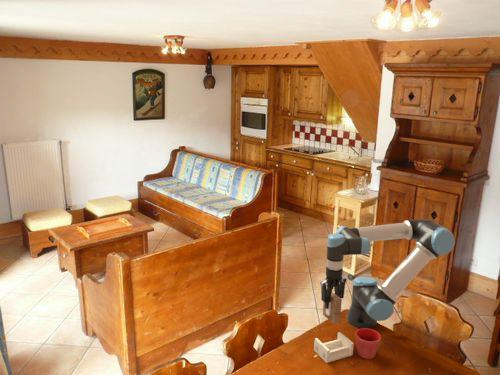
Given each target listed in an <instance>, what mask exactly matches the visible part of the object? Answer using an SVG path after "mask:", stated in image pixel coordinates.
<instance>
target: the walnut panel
mask: <svg viewBox="0 0 500 375" xmlns="http://www.w3.org/2000/svg"><path fill="white" fill-rule="evenodd" d="M342 300H343V298H340V297H339V296H337V295H336V294H335V292H333V291H332V293H331V298H330V302H331V312H330V316H329V315H327V314H326V308H325V302H323V301H322V302H323V306H322V307H323V308H322V315H323V316H324V317H325V318H326V319H328V320H329V322H331V323H332V324H333V325H336V324H338V323H341V318H342V316H341V315H342V303H343V302H342Z"/></svg>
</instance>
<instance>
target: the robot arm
mask: <svg viewBox="0 0 500 375" xmlns="http://www.w3.org/2000/svg"><path fill="white" fill-rule="evenodd" d="M400 239H406V240H408V241H411V240H415V247H414V248H413V249H412V250H411V251H410V252H409V254H408V255H407V256H406V257H405V258H404V259H403V260H402V262H400V263H399V265H398V266H397V267H396V268H395V269H394V270H393V271H392V272H391V273H390V274H389V276H388V277H387V278H386V279H385V280H384V282H382V283H378V280H377V279H376V278H373V277H368V276H358V277H355V278H354V279H353V283H352V290H351V291H352V293H351V305H350V306H349V309H348V311H347V313H346V320H347V322H348V323H349V324H351V325H352V326H354V327H356V328H359V329H362V328H368V329H372V328H374V327H376V326H377V323H378V322H381V321H382V322H383V321H386V320H388V319H389V318H391V317H392V316H393V315H394V310H395V308H394V305H395V304H396V303H397V297H398V296H400V294H401V293H402V292H403V290H404V289H405V288H406V287H407V286H408V285H409V284H410V283H411V282H412V281H413V279H414V278H415V277H416V276H417V275H418V274H419V273H420V272H421V271H422V270H423V269H424V268H425V267H426V265H427V264H428V263H429V262H430V261H431V260H434V259H438V257H440V256H444V255H447V254H449V253H450V252H451V251H452V250H453V249H454V247H455V243H456V241H455V236H454V234H453V233H452V231H450V230H449V229H448V228H446V226H443V225H441V224H439V223H437V222H436V221H434V220H432V219H426V218H421V219H420V218H417V219H407V220H404V221H403V222H398V223H396V222H395V223H389V224H388V223H387V224H380V225H370V226H361V227H349V226H345V225H342V226H340V227H338V228H337V230H336V233H330V234H329V235H328V237H327V241H326V265H325V266H326V267H325V276H326V277H325V280H324V281H320V283H319V284H320V288H321V290H320V291H321V298H320V299H321V302H325V308H326V314H327V315H329V316H330V312H331V302H330V298H331V293H332V292H333V290H334V293H335V294H336V295H337V296H339V297H340V298H341V299H344V297H345V288H346V283H347V281H348V279H347V278H346V277H344V276H343V272H344V269H343V268H344V256H351V255H352V256H354V255H361V256H362V255H367V254H369V253H370V251H371V242H373V243H374V242H382V241H389V240H391V241H392V240H400Z"/></svg>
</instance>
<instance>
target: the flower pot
mask: <svg viewBox="0 0 500 375" xmlns="http://www.w3.org/2000/svg"><path fill="white" fill-rule="evenodd" d="M381 336H382V335H381V334H380V333H379V332H378V331H376V330H374V329H372V328H359V329H357V330H356V331H355V341H356V342H355V343H356V351H357V355H358V356H359V357H361V358H363V359H366V360H367V359H369V360H370V359H374V358H375V357H376V354H377V351H378V348H379V345H380V342H381V339H382V337H381Z"/></svg>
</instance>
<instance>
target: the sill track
mask: <svg viewBox="0 0 500 375" xmlns="http://www.w3.org/2000/svg"><path fill="white" fill-rule="evenodd" d="M354 345H355V343H354V342H353V341H352V340H350V338H348V337H347V336H346V335H345V334H343V333H342V332H341V331H338V332H337V339H335V340H331V341H326V342H322V341H321V340H320V339H319V338H317V337H315V338H314V345H313V351H314V352H315V353H316V354H317V355H318V356H319V357H320V358H321V359H322V360H323V361H324V362H325V363H326V364H328V363H331V362H334V361H338V360H342V359H345V358H348V357H351V356H353V355H354V347H355V346H354Z"/></svg>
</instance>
